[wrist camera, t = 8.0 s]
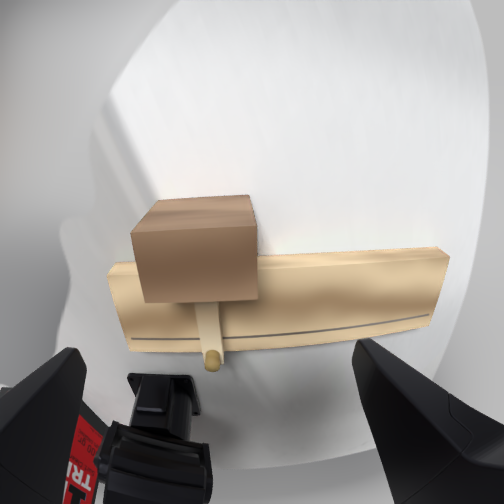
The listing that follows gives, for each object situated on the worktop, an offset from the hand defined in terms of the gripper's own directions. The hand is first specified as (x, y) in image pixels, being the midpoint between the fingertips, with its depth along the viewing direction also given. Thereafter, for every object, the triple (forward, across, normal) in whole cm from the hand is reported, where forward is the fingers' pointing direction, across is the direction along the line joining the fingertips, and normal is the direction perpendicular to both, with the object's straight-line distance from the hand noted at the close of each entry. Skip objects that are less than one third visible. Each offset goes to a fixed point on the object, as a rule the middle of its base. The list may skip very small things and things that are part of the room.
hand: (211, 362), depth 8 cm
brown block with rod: (+12, +1, +4) cm, 13 cm away
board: (+12, -5, +6) cm, 15 cm away
